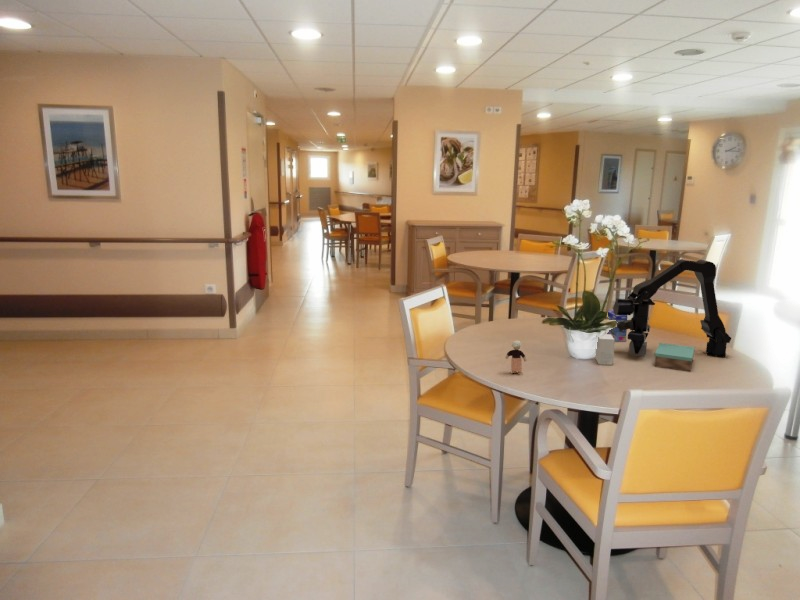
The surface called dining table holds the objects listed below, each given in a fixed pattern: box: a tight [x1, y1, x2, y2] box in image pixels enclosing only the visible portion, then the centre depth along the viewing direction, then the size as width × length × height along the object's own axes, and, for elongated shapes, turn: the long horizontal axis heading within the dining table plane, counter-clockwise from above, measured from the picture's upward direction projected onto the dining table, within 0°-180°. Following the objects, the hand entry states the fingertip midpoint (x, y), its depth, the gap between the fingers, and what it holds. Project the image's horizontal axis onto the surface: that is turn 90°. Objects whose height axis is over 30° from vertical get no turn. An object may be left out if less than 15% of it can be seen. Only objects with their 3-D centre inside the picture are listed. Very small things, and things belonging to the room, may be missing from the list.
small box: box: [594, 333, 615, 366], centre depth 209 cm, size 8×6×10 cm
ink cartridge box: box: [607, 306, 628, 342], centre depth 241 cm, size 10×6×14 cm, turn 5°
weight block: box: [628, 340, 648, 358], centre depth 219 cm, size 6×5×5 cm
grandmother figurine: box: [504, 340, 527, 375], centre depth 197 cm, size 8×4×13 cm, turn 80°
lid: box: [654, 342, 695, 362], centre depth 207 cm, size 13×16×1 cm
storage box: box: [654, 356, 693, 372], centre depth 208 cm, size 12×16×4 cm
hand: (637, 351), depth 219 cm, fingers closed on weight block, 5 cm apart
